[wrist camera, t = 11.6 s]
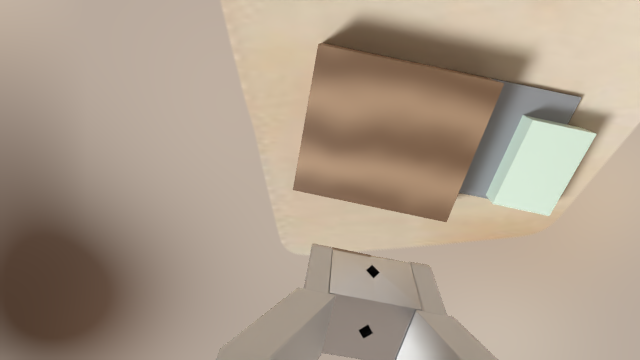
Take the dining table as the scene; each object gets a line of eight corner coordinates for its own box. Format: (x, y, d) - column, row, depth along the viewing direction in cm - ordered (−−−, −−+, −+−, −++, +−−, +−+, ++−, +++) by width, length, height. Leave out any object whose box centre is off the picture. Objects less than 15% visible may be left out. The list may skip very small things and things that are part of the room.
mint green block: (596, 133, 30) (582, 127, 32) (533, 120, 30) (522, 114, 32) (549, 216, 34) (539, 206, 36) (492, 203, 34) (485, 195, 36)
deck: (322, 42, 31) (318, 44, 28) (486, 77, 31) (504, 83, 28) (298, 174, 37) (293, 189, 33) (437, 203, 37) (446, 222, 34)
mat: (491, 78, 31) (493, 79, 31) (579, 96, 31) (581, 97, 31) (447, 188, 36) (448, 190, 36) (522, 204, 36) (524, 206, 36)
